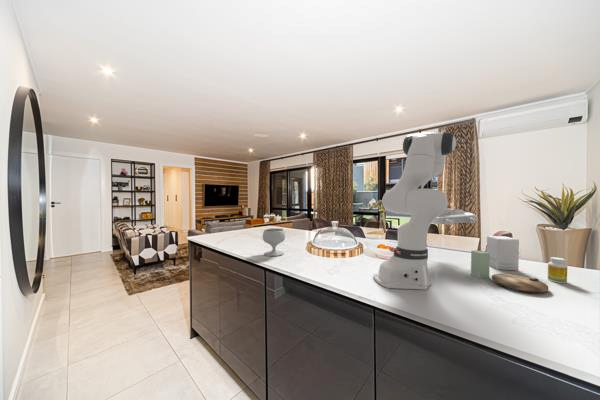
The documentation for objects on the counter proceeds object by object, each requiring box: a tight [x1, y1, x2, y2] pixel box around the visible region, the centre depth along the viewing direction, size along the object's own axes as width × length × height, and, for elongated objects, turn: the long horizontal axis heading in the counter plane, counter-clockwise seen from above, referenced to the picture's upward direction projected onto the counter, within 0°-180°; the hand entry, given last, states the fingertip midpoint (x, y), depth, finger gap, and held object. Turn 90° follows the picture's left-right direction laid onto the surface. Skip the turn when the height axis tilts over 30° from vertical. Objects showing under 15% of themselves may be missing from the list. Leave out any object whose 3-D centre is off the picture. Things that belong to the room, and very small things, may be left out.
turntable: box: [491, 273, 549, 293], centre depth 89 cm, size 16×16×2 cm
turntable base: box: [498, 284, 541, 294], centre depth 89 cm, size 13×13×1 cm
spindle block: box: [470, 249, 491, 279], centre depth 99 cm, size 4×4×11 cm
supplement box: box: [486, 235, 520, 272], centre depth 111 cm, size 9×9×15 cm
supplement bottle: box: [547, 256, 568, 284], centre depth 94 cm, size 5×5×10 cm
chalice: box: [262, 227, 286, 257], centre depth 138 cm, size 14×14×15 cm
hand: (463, 222), depth 109 cm, fingers open, 8 cm apart
